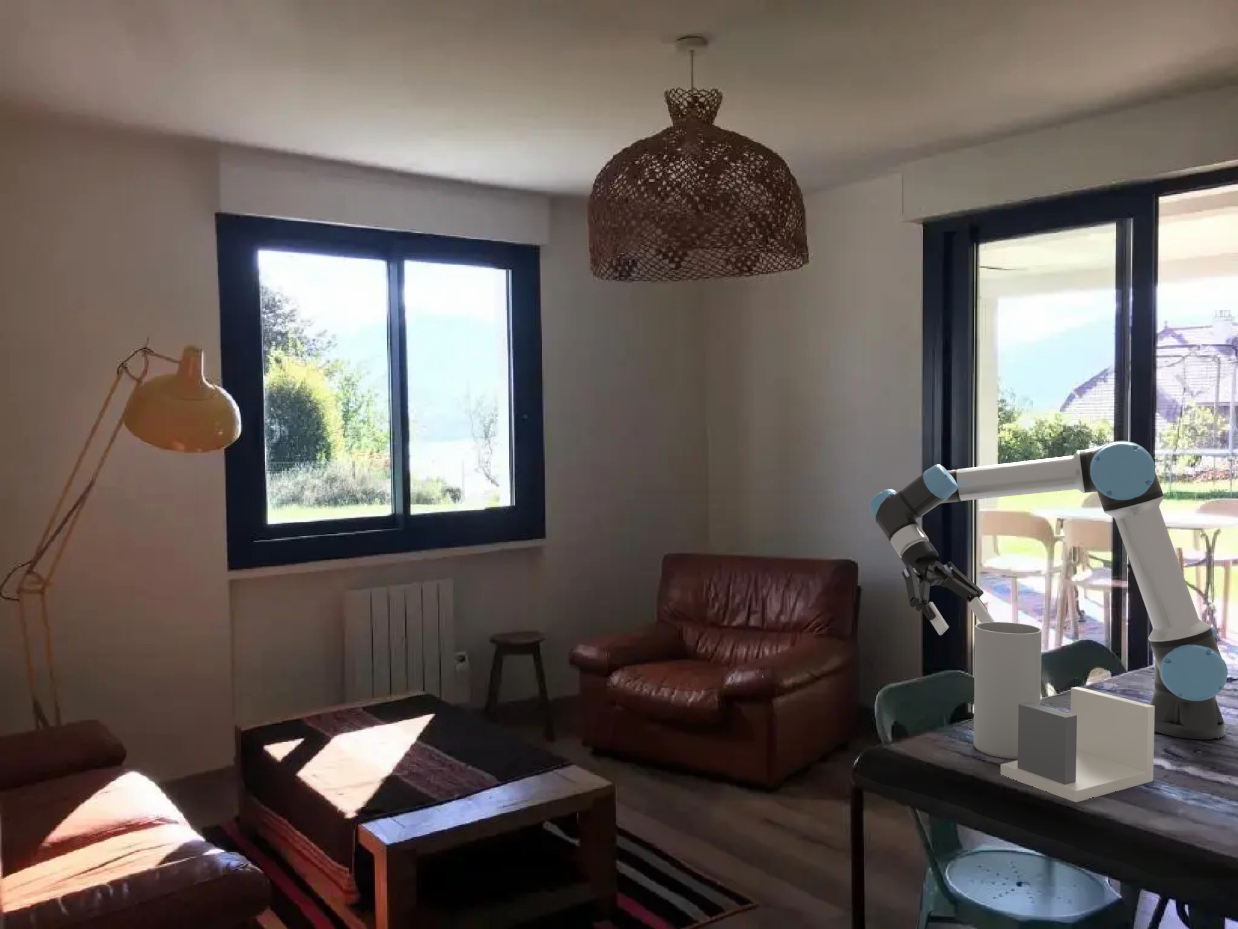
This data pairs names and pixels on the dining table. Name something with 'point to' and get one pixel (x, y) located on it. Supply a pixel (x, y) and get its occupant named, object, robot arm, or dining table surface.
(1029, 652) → the cylinder vase
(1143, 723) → the white corner bracket
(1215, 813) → the dining table surface
